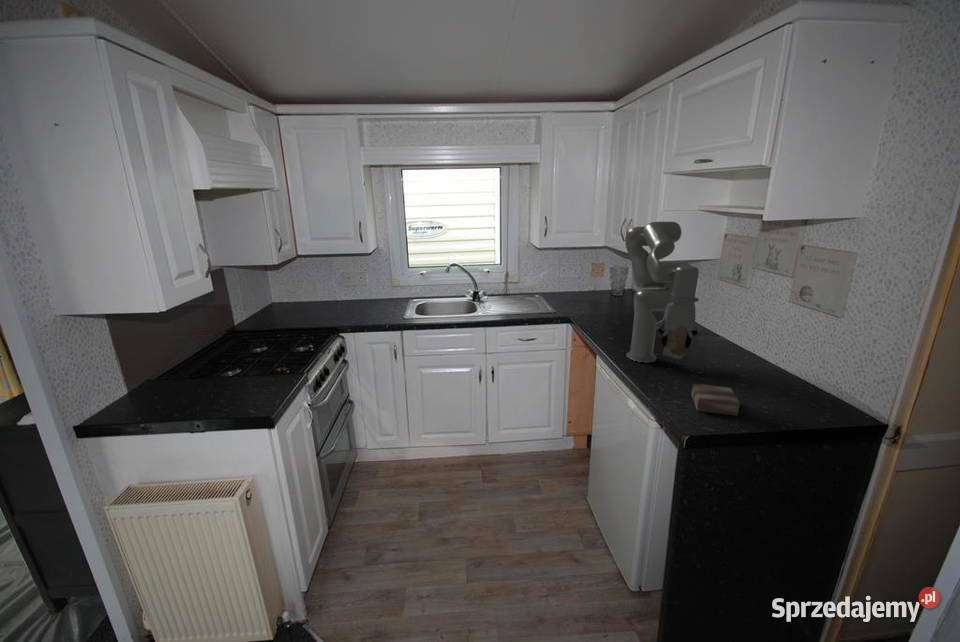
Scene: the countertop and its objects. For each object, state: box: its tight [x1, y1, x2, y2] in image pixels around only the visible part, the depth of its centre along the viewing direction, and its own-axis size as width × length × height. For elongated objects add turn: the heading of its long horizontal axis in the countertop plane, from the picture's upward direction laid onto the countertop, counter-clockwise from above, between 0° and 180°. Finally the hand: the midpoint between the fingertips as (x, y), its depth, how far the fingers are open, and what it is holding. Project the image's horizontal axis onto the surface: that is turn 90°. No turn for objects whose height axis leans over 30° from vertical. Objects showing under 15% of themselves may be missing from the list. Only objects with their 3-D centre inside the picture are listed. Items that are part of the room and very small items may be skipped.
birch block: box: [691, 382, 741, 417], centre depth 139 cm, size 12×12×5 cm
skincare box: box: [662, 328, 688, 360], centre depth 150 cm, size 6×4×12 cm
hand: (675, 345), depth 150 cm, fingers closed on skincare box, 7 cm apart
